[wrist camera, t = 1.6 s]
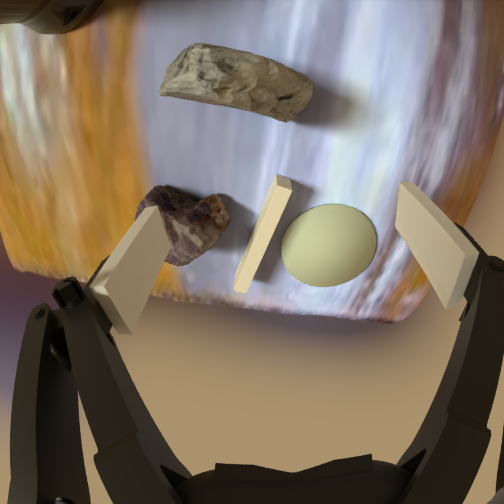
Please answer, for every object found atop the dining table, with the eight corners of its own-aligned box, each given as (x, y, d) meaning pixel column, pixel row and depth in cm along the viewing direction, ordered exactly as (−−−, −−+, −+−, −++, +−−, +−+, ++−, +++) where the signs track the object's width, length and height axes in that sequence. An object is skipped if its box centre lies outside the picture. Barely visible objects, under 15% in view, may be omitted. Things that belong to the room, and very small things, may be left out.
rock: (165, 169, 38) (151, 227, 44) (133, 188, 31) (123, 253, 36) (239, 201, 39) (217, 257, 44) (222, 227, 32) (198, 290, 37)
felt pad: (266, 270, 46) (266, 272, 46) (305, 188, 38) (306, 190, 37) (346, 293, 48) (346, 295, 48) (391, 224, 40) (393, 226, 40)
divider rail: (235, 273, 47) (233, 290, 44) (276, 174, 37) (277, 185, 34) (247, 277, 47) (245, 293, 44) (290, 179, 37) (292, 190, 34)
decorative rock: (172, 93, 31) (117, 107, 19) (187, 45, 27) (136, 29, 15) (296, 128, 33) (316, 162, 21) (315, 81, 30) (348, 85, 17)
